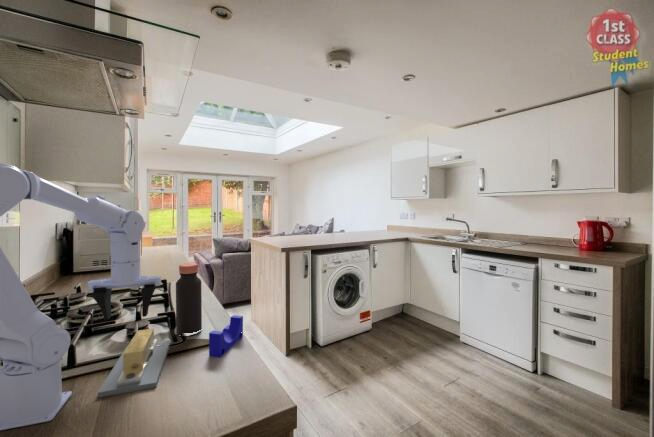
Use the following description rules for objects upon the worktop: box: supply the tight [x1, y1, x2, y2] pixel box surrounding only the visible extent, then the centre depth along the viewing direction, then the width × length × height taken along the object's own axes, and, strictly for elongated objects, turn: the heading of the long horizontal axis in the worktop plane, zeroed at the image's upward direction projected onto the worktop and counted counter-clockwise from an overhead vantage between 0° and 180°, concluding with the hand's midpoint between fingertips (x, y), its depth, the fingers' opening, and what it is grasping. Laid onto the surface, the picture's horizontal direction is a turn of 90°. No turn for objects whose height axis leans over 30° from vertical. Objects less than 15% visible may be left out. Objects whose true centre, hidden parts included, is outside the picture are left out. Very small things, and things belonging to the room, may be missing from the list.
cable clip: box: [208, 314, 244, 358], centre depth 79 cm, size 12×4×6 cm, turn 169°
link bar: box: [122, 328, 155, 373], centre depth 68 cm, size 4×12×4 cm, turn 21°
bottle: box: [175, 262, 203, 336], centre depth 86 cm, size 7×7×20 cm
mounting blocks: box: [117, 338, 158, 386], centre depth 68 cm, size 4×18×1 cm, turn 20°
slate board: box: [97, 339, 172, 398], centre depth 68 cm, size 10×20×1 cm, turn 20°
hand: (126, 316), depth 71 cm, fingers open, 7 cm apart
